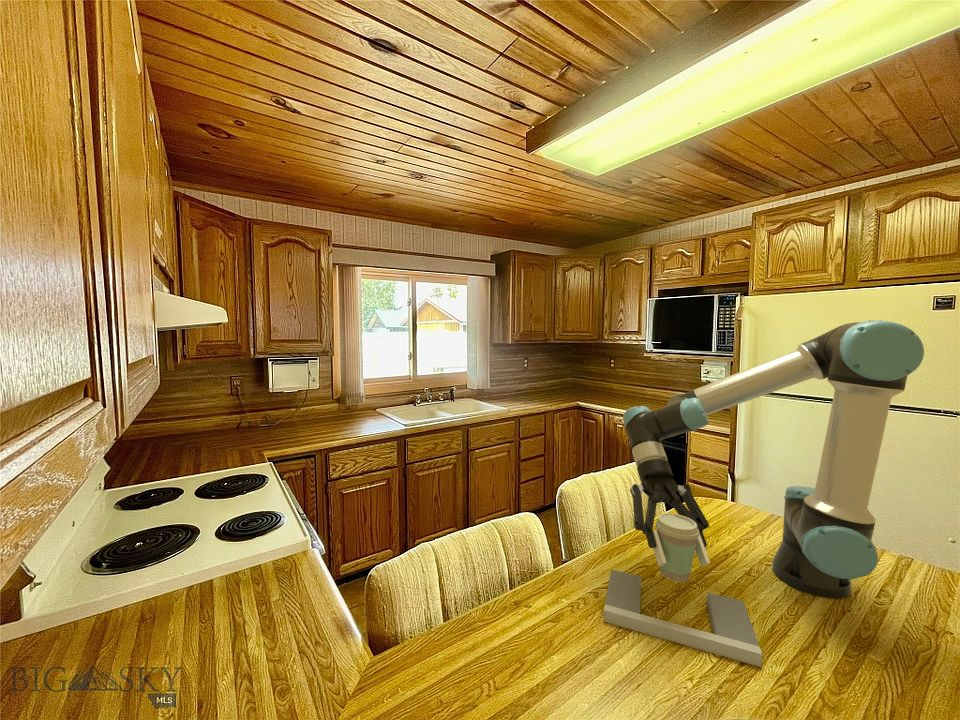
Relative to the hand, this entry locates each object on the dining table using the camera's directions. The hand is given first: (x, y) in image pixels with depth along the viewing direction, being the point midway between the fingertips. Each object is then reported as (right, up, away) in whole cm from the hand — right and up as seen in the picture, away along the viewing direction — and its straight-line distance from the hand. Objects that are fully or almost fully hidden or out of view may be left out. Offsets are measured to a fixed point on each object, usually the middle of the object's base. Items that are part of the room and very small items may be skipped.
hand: (683, 564), depth 82 cm
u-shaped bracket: (0, -13, +4) cm, 13 cm away
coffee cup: (0, -4, +4) cm, 6 cm away
